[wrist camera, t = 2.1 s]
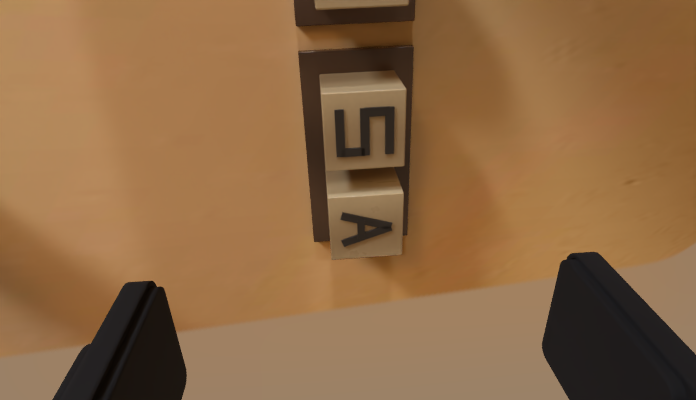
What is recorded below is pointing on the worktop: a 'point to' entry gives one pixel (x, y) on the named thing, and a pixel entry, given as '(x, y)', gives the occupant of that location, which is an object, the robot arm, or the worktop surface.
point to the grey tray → (352, 11)
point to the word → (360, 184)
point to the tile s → (363, 120)
